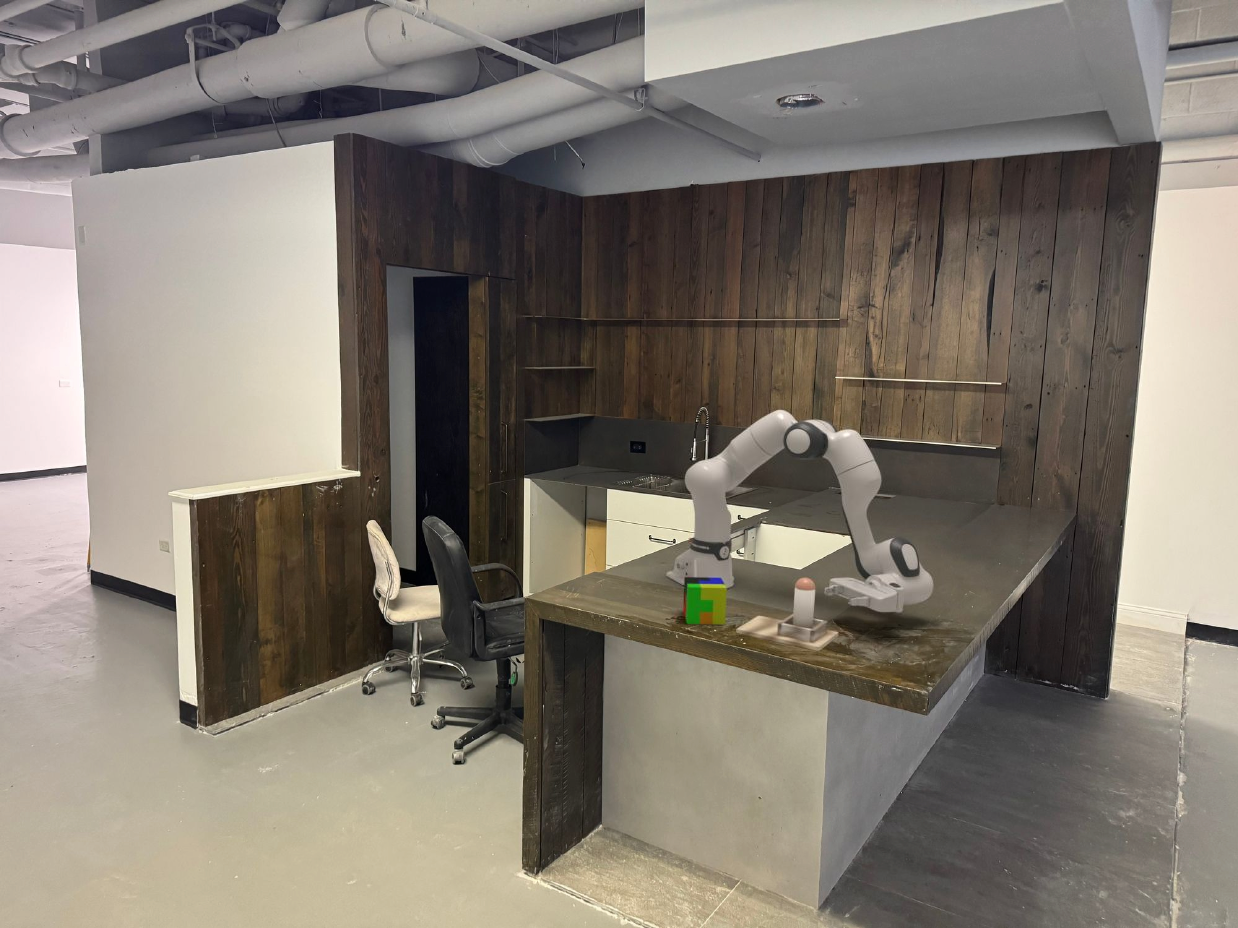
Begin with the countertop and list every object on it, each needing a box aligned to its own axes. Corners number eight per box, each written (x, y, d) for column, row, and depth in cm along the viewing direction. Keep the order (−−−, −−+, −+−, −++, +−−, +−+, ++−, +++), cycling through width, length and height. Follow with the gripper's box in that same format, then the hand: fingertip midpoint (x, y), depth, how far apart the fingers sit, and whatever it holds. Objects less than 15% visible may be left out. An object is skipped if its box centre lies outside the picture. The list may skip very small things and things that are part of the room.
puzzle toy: (719, 612, 235) (720, 577, 233) (725, 624, 225) (726, 587, 224) (683, 612, 234) (684, 576, 233) (687, 624, 225) (688, 587, 223)
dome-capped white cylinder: (788, 632, 217) (791, 576, 215) (801, 629, 220) (805, 574, 218) (802, 638, 213) (806, 581, 211) (816, 634, 215) (820, 579, 213)
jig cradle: (736, 632, 218) (736, 617, 218) (758, 619, 230) (759, 604, 230) (818, 651, 207) (819, 635, 206) (838, 635, 218) (839, 620, 218)
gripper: (854, 570, 234) (813, 574, 228) (908, 589, 215) (865, 595, 210) (852, 592, 235) (812, 597, 229) (906, 614, 216) (863, 620, 211)
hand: (837, 596), depth 219 cm, fingers open, 8 cm apart
